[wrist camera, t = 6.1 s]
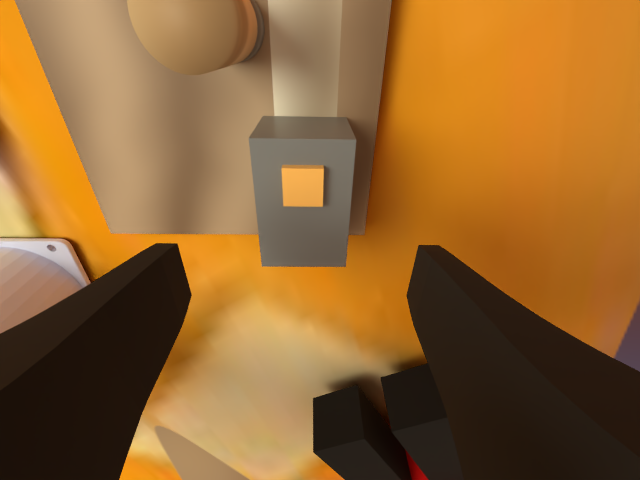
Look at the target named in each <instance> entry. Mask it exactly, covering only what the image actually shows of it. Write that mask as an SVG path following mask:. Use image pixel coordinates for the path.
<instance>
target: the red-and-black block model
mask: <svg viewBox="0 0 640 480" xmlns="http://www.w3.org/2000/svg"><path fill="white" fill-rule="evenodd" d="M381 382H382V387H383V392H384V397H385V402H386V407H387V411H388V416H389V421H390V426H391V428H390V427H389V426H388V424H387V423H386V422H385V420H384V419H383V418H382V416H381V415H380V414H379V413H378V411H377V410H376V409H375V407H374V406H373V405H372V403H371V402H370V401H369V399H368V398H367V397H366V396H365V394H364V393H363V392H362V390H361V389H360V388H359V386H358V385H355V386H352V387H349V388H345V389H342V390H339V391H336V392H332V393H329V394H326V395H322V396H319V397H316V398H313V452H314V453H315V454H316V455H317V456H318V457H320V458H321V459H322V460H323V461H324V462H325V463H326V464H328V465H329V466H330V467H331V468H332V469H333V470H334V471H336V472H337V473H338V474H339V475H340V476H341V477H342V478H344V479H345V480H464V477H463V473H462V469H461V466H460V462H459V458H458V454H457V450H456V446H455V443H454V439H453V435H452V432H451V428H450V425H449V421H448V417H447V414H446V410H445V408H444V405H443V402H442V399H441V396H440V393H439V390H438V388H437V385H436V383H435V380H434V377H433V375H432V372H431V370H430V367H429V364H428V363H427V364H424V365H421V366H417V367H414V368H411V369H408V370H404V371H401V372H398V373H394V374H391V375H388V376H385V377H381Z"/></svg>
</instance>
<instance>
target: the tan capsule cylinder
mask: <svg viewBox="0 0 640 480" xmlns="http://www.w3.org/2000/svg"><path fill="white" fill-rule="evenodd" d="M127 5H128V11H129V16H130V19H131V22H132V25H133V28H134V30H135V32H136V34H137V36H138V38H139V40H140V41H141V43H142V44H143V46H144V47H145V48H146V50H147V51H148V52H149V53H150V54H151V55H152V56H153V57H154V58H155V59H156V60H157V61H158V62H160V63H161V64H162V65H164V66H165V67H167V68H169V69H171V70H173V71H175V72H178V73H181V74H185V75H201V74H206V73H209V72H212V71H215V70H218V69H222V68H225V67H228V66H231V65H235V64H238V63H241V62H244V61H247V60H249V59H251V58H252V57H254V56H255V55H256V54H257V52H258V51H259V50H260V48H261V46H262V43H263V39H264V33H265V27H264V20H263V16H262V13H261V11H260V9H259V7H258V5H257V3H256V2H255V1H254V0H127Z"/></svg>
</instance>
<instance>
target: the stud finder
mask: <svg viewBox="0 0 640 480" xmlns="http://www.w3.org/2000/svg"><path fill="white" fill-rule="evenodd" d="M249 147H250V156H251V166H252V175H253V185H254V195H255V204H256V214H257V223H258V233H259V242H260V252H261V262H262V266H287V267H346V257H347V245H348V233H349V221H350V209H351V197H352V185H353V173H354V161H355V149H356V138H355V136H354V133H353V131H352V129H351V127H350V124H349V122H348V120H347V118H346V117H302V116H263V117H262V118H261V120H260V121H259V123H258V124H257V126H256V128H255V129H254V131H253V132H252V134H251V135H250V137H249Z"/></svg>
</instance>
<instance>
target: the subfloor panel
mask: <svg viewBox="0 0 640 480" xmlns="http://www.w3.org/2000/svg"><path fill="white" fill-rule="evenodd" d="M254 1H255V2H256V3H257V5H258V7H259V9H260V11H261V13H262V16H263V20H264V27H265V33H264V39H263V43H262V46H261V48H260V50H259V51H258V52H257V54H256V55H255V56H254V57H252V58H251V59H249V60H247V61H244V62H241V63H238V64H235V65H231V66H228V67H225V68H222V69H218V70H215V71H212V72H209V73H206V74H201V75H185V74H181V73H178V72H175V71H173V70H171V69H169V68H167V67H165V66H164V65H162V64H161V63H160V62H158V61H157V60H156V59H155V58H154V57H153V56H152V55H151V54H150V53H149V52H148V51H147V50H146V48H145V47H144V46H143V44H142V43H141V41H140V40H139V38H138V36H137V34H136V32H135V30H134V28H133V25H132V22H131V19H130V16H129V11H128V5H127V0H15V2H16V4H17V7H18V9H19V12H20V14H21V17H22V19H23V21H24V24H25V26H26V29H27V31H28V33H29V36H30V38H31V41H32V43H33V46H34V48H35V50H36V53H37V55H38V58H39V60H40V63H41V65H42V67H43V70H44V72H45V75H46V77H47V80H48V82H49V84H50V87H51V89H52V92H53V94H54V96H55V99H56V101H57V104H58V106H59V109H60V111H61V113H62V116H63V118H64V121H65V123H66V126H67V128H68V130H69V133H70V135H71V138H72V140H73V142H74V145H75V147H76V150H77V152H78V155H79V157H80V159H81V162H82V164H83V167H84V169H85V172H86V174H87V176H88V179H89V181H90V184H91V186H92V189H93V191H94V193H95V196H96V198H97V201H98V203H99V205H100V208H101V210H102V213H103V215H104V218H105V220H106V222H107V225H108V227H109V230H110V232H111V233H127V234H259V233H258V223H257V214H256V204H255V195H254V185H253V175H252V166H251V156H250V147H249V137H250V135H251V134H252V132H253V131H254V129H255V128H256V126H257V124H258V123H259V121H260V120H261V118H262V117H263V116H302V117H346V118H347V120H348V122H349V124H350V127H351V129H352V131H353V133H354V136H355V138H356V149H355V161H354V173H353V185H352V197H351V209H350V221H349V233H348V235H364V234H365V225H366V217H367V208H368V199H369V191H370V182H371V174H372V165H373V157H374V148H375V140H376V131H377V122H378V114H379V105H380V97H381V88H382V80H383V71H384V63H385V54H386V45H387V37H388V28H389V20H390V11H391V3H392V0H254Z"/></svg>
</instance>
